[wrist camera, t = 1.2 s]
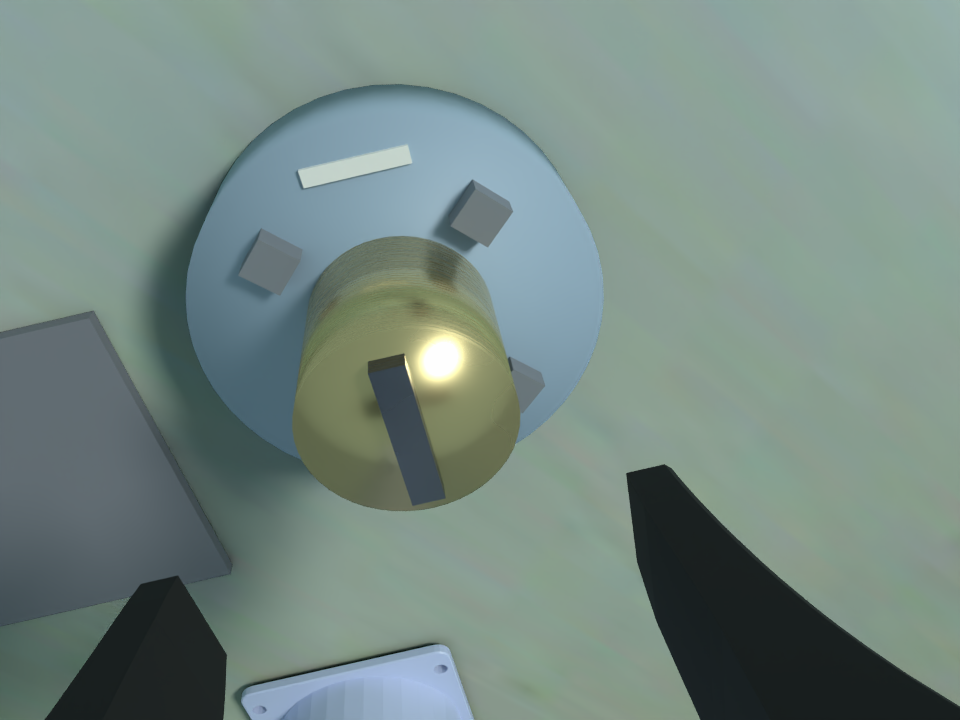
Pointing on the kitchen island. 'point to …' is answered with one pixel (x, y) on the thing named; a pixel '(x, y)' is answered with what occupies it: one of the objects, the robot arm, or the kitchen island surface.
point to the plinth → (382, 213)
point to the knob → (403, 378)
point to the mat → (86, 479)
